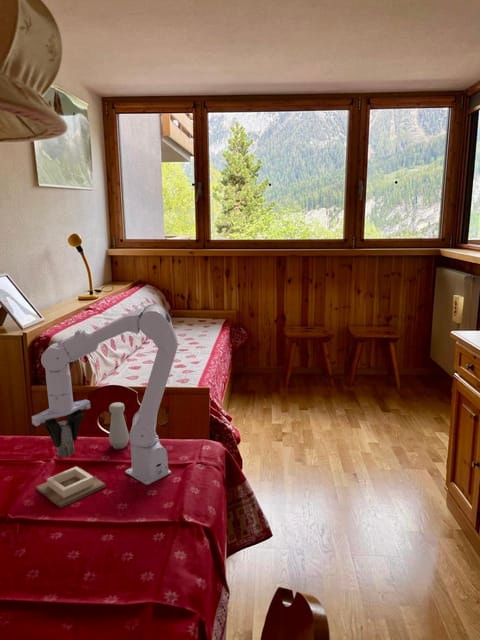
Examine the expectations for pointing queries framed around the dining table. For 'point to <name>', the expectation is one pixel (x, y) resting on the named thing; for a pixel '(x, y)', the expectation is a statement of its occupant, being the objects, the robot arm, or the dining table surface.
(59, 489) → the socket board
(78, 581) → the dining table surface
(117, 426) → the salt shaker
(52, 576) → the dining table surface
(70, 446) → the peg
